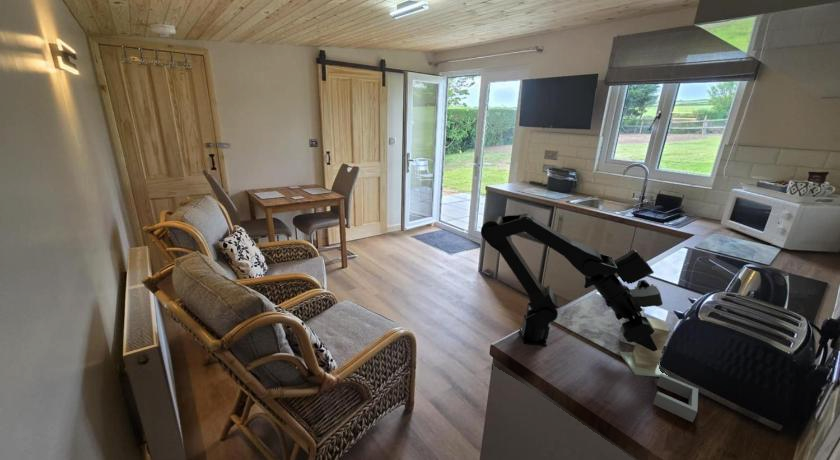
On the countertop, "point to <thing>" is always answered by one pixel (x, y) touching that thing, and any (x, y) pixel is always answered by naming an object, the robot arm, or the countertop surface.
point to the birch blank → (646, 356)
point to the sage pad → (638, 370)
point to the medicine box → (622, 334)
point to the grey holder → (675, 405)
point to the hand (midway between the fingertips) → (650, 339)
